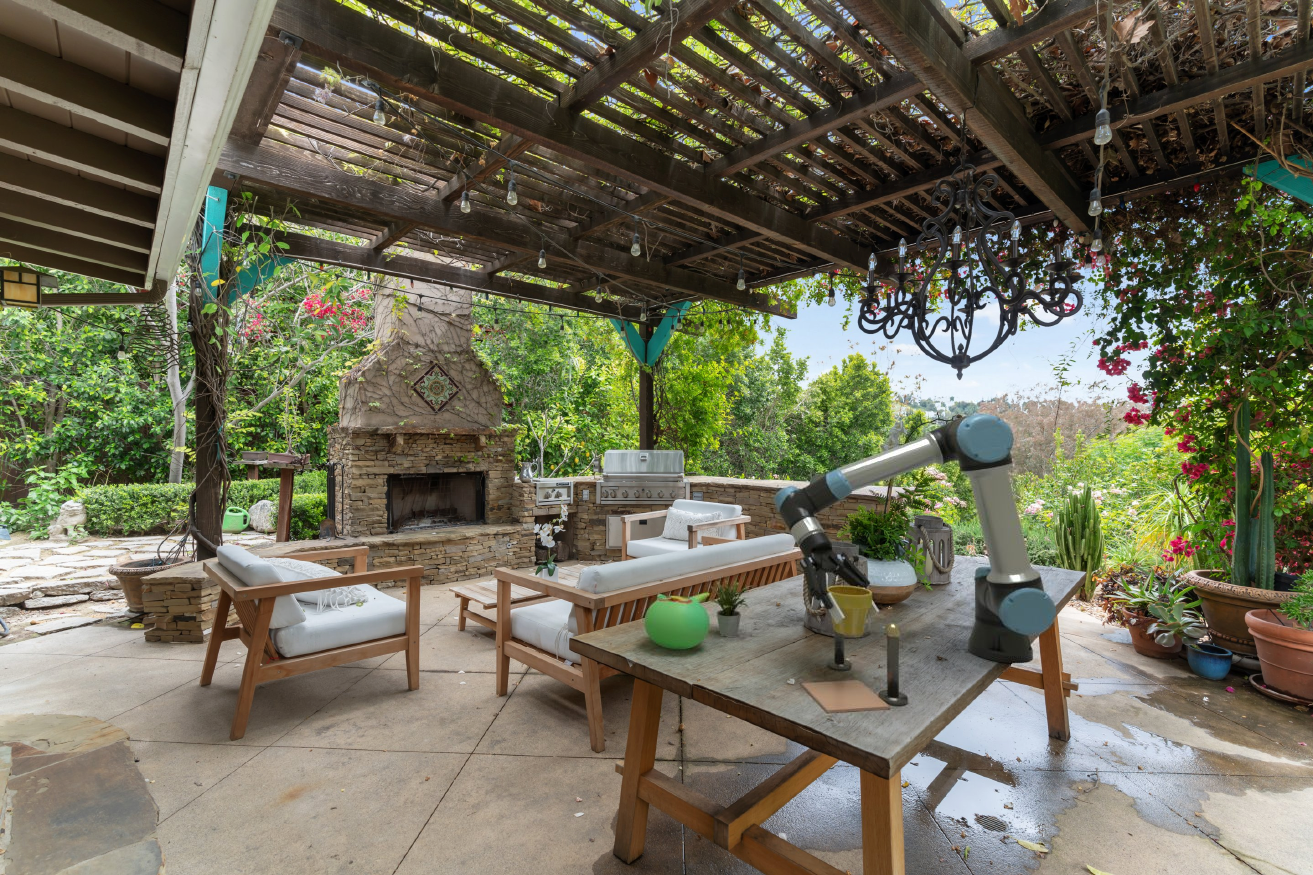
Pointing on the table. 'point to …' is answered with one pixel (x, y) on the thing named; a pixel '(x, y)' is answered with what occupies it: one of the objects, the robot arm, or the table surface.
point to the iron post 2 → (893, 669)
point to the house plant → (729, 609)
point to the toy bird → (677, 621)
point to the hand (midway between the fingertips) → (858, 617)
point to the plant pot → (851, 608)
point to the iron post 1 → (839, 655)
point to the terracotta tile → (844, 696)
